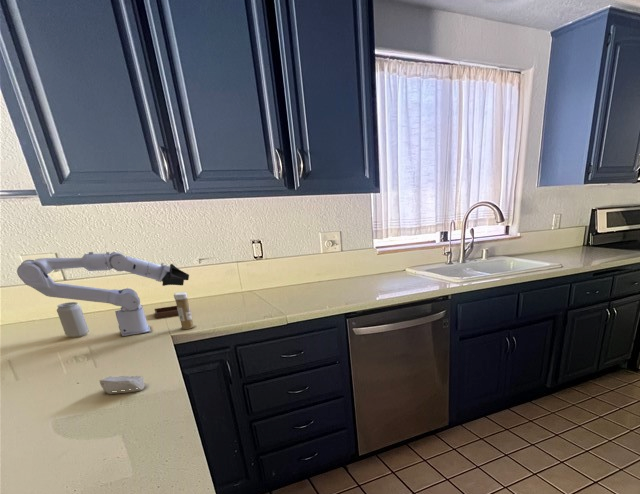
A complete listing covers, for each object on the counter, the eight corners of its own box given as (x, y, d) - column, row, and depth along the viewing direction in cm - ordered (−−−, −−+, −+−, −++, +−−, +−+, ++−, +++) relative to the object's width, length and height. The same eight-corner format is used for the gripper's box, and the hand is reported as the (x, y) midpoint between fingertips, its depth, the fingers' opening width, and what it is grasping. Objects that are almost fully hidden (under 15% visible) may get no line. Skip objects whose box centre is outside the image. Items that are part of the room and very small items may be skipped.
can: (87, 330, 165) (76, 300, 160) (92, 334, 160) (81, 303, 155) (64, 335, 161) (53, 304, 155) (68, 339, 156) (57, 307, 151)
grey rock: (146, 397, 119) (149, 377, 118) (135, 402, 113) (139, 380, 112) (108, 388, 118) (112, 368, 117) (95, 392, 111) (99, 371, 111)
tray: (157, 318, 178) (155, 313, 177) (155, 313, 186) (154, 308, 185) (185, 314, 183) (184, 309, 182) (183, 309, 190) (182, 304, 190)
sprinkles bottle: (195, 328, 165) (187, 293, 159) (182, 330, 163) (174, 295, 157) (192, 325, 168) (185, 291, 163) (180, 327, 166) (172, 293, 160)
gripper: (152, 253, 152) (192, 264, 160) (144, 265, 163) (182, 275, 172) (149, 271, 151) (189, 282, 159) (142, 282, 162) (180, 292, 171)
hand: (185, 280), depth 166 cm, fingers open, 7 cm apart
